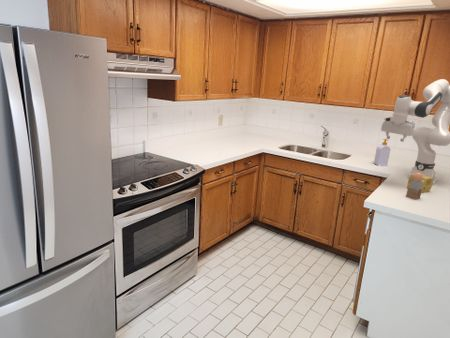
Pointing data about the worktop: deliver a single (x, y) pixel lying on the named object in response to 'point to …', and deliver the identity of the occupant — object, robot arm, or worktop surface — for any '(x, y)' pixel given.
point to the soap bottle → (382, 154)
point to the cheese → (425, 185)
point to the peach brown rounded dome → (417, 177)
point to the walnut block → (413, 193)
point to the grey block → (415, 185)
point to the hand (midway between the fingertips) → (394, 140)
